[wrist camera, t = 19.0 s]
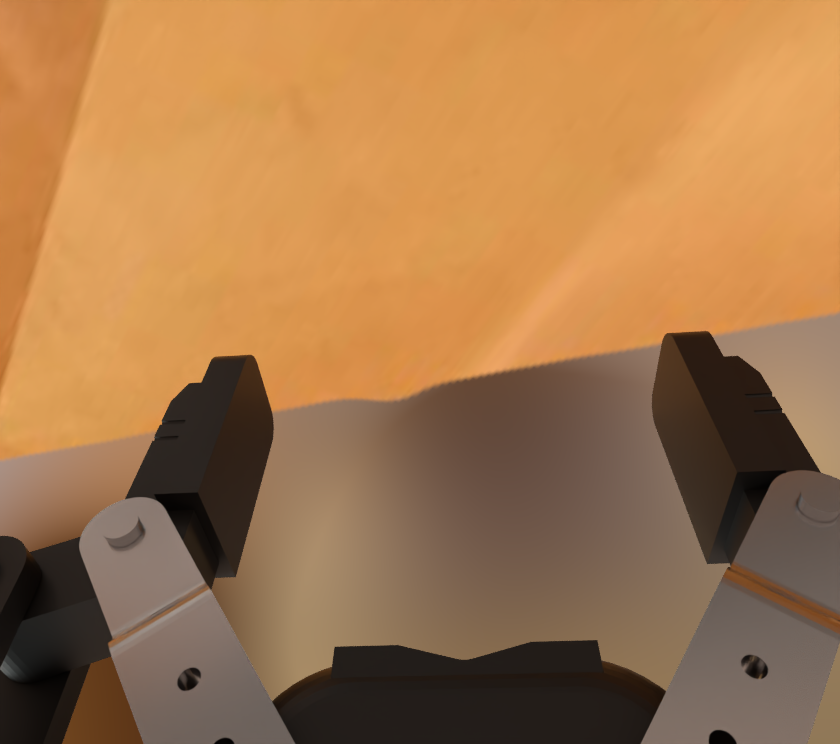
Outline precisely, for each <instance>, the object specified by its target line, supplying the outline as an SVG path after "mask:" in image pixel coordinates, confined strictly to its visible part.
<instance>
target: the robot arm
mask: <svg viewBox="0 0 840 744" xmlns="http://www.w3.org/2000/svg"><path fill="white" fill-rule="evenodd" d="M652 412H653V418H654V423H655V426H656V429H657V432H658V434H659V437H660V439H661V442H662V445H663V448H664V450H665V453H666V456H667V458H668V461H669V464H670V466H671V469H672V472H673V474H674V477H675V480H676V482H677V485H678V488H679V490H680V493H681V496H682V498H683V501H684V504H685V506H686V509H687V512H688V514H689V517H690V520H691V522H692V525H693V528H694V530H695V533H696V536H697V538H698V541H699V543H700V546H701V549H702V552H703V554H704V557H705V559H706V562H707V564H714V563H715V564H717V563H730V565H731V567H728V568H727V570H726V571H725V573H724V575H723V577H722V579H721V581H720V583H719V585H718V587H717V589H716V591H715V593H714V596H713V597H712V599H711V601H710V604H709V606H708V608H707V610H706V612H705V614H704V616H703V618H702V620H701V622H700V624H699V626H698V628H697V630H696V632H695V634H694V636H693V638H692V640H691V642H690V644H689V646H688V649H687V651H686V653H685V654H684V657H683V659H682V661H681V663H680V665H679V667H678V669H677V671H676V673H675V675H674V677H673V679H672V681H671V683H670V685H669V687H668V689H667V691H665V690H664V689H662V688H661V687H660V686H658V685H656V684H655V683H653V682H651V681H650V680H649V679H647V678H645V677H644V676H641V675H639V674H637V673H635V672H633V671H631V670H629V669H627V668H624V667H621V666H618V665H615V664H613V663H609V662H605V661H601V656H600V652H599V647H598V642H597V640H588V641H549V642H530V643H526V644H522V645H519V646H516V647H512V648H508V649H505V650H501V651H498V652H495V653H491V654H488V655H484V656H481V657H477V658H474V659H469V660H459V659H454V658H450V657H446V656H442V655H437V654H433V653H429V652H424V651H420V650H416V649H412V648H407V647H403V646H399V645H389V646H349V647H335V649H334V656H333V664H332V667H330V668H327V669H324V670H321V671H319V672H317V673H315V674H312V675H310V676H308V677H306V678H304V679H302V680H301V681H299V682H297V683H295V684H294V685H292V686H291V687H289V688H288V689H287V690H285V691H284V692H282V693H281V694H280V695H279V696H278V697H276V698H275V699H274V700H273V701H271V699H270V697H269V695H268V693H267V692H266V690H265V688H264V686H263V685H262V683H261V681H260V679H259V677H258V675H257V674H256V672H255V670H254V668H253V666H252V664H251V662H250V661H249V659H248V657H247V655H246V654H245V651H244V650H243V648H242V646H241V644H240V642H239V641H238V639H237V637H236V635H235V633H234V632H233V630H232V628H231V626H230V624H229V622H228V621H227V619H226V617H225V615H224V613H223V612H222V610H221V608H220V606H219V604H218V603H217V601H216V599H215V597H214V595H213V593H212V592H211V589H212V585H213V582H214V579H215V578H221V577H236V574H237V570H238V567H239V563H240V559H241V556H242V552H243V548H244V544H245V541H246V537H247V533H248V530H249V526H250V522H251V518H252V515H253V511H254V507H255V503H256V500H257V496H258V492H259V489H260V485H261V482H262V478H263V474H264V470H265V467H266V463H267V459H268V455H269V452H270V448H271V444H272V440H273V430H274V427H273V415H272V411H271V407H270V404H269V401H268V397H267V394H266V391H265V387H264V384H263V381H262V378H261V374H260V371H259V368H258V364H257V362H256V359H255V358H254V356H252V355H240V356H222V357H214V358H213V359H212V360H211V362H210V364H209V367H208V369H207V371H206V374H205V376H204V378H203V381H202V383H189V384H188V385H187V386H186V387H185V388H184V389H183V390H182V391H181V392H180V393H179V394H178V395H177V396H176V397H175V398H174V399H173V400H172V401H171V402H170V405H169V407H168V409H167V411H166V413H165V415H164V417H163V419H162V425H160V426H159V428H158V430H157V432H156V434H155V437H154V438H155V440H154V441H152V443H151V445H150V448H149V450H148V452H147V454H146V456H145V458H144V460H143V462H142V464H141V466H140V469H139V471H138V473H137V475H136V477H135V479H134V481H133V484H132V486H131V488H130V490H129V492H128V494H127V496H126V498H125V500H122V501H119V502H117V503H115V504H112V505H111V506H109V507H107V508H106V509H104V510H102V511H101V512H100V513H98V514H97V515H96V516H95V517H94V518H93V519H92V520H91V521H90V522H89V524H88V525H87V526H86V528H85V529H84V531H83V533H82V535H81V537H78V538H75V539H72V540H69V541H66V542H62V543H59V544H56V545H52V546H49V547H46V548H43V549H39V550H36V551H32V552H29V551H28V550H27V548H26V547H25V546H24V544H23V543H22V542H21V541H20V540H18V539H16V538H14V537H9V536H0V744H62V742H63V739H64V736H65V734H66V731H67V728H68V725H69V723H70V720H71V716H72V714H73V711H74V709H75V706H76V703H77V700H78V697H79V694H80V692H81V689H82V686H83V683H84V681H85V678H86V675H87V672H88V669H89V667H90V664H91V663H93V662H96V661H99V660H102V659H105V658H108V657H111V656H112V659H113V662H114V664H115V667H116V669H117V672H118V675H119V678H120V680H121V683H122V686H123V689H124V691H125V694H126V697H127V699H128V702H129V705H130V707H131V710H132V713H133V716H134V718H135V721H136V724H137V726H138V729H139V732H140V735H141V737H142V740H143V743H144V744H807V743H808V740H809V737H810V733H811V730H812V727H813V724H814V721H815V718H816V714H817V712H818V708H819V705H820V702H821V699H822V696H823V693H824V690H825V687H826V683H827V680H828V677H829V674H830V671H831V668H832V665H833V662H834V658H835V655H836V652H837V649H838V645H839V643H840V480H839V479H837V478H834V477H832V476H829V475H826V474H823V473H821V472H820V471H819V469H818V467H817V466H816V464H815V462H814V461H813V459H812V457H811V456H810V454H809V453H808V451H807V449H806V448H805V446H804V444H803V443H802V441H801V439H800V438H799V436H798V434H797V433H796V431H795V429H794V428H793V426H792V425H791V423H790V421H789V420H788V418H787V416H786V415H785V414H784V413H782V408H781V407H780V405H779V403H778V402H777V400H776V398H775V397H772V392H771V390H770V388H769V387H768V385H767V383H766V382H765V380H764V379H763V377H762V375H761V374H760V372H758V371H757V370H756V369H754V368H753V367H752V366H750V365H749V364H748V363H747V362H745V361H744V360H743V359H741V358H740V357H739V356H728V357H724V356H723V355H722V353H721V351H720V349H719V348H718V346H717V344H716V342H715V340H714V339H713V337H712V335H711V334H710V333H709V332H708V331H700V332H682V333H667V334H666V335H665V336H664V338H663V341H662V346H661V351H660V357H659V362H658V367H657V373H656V378H655V383H654V388H653V394H652Z"/></svg>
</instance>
